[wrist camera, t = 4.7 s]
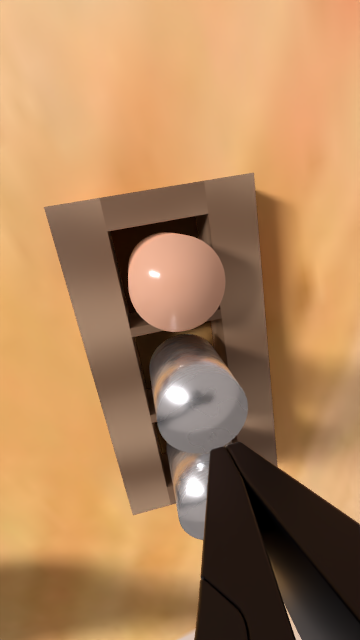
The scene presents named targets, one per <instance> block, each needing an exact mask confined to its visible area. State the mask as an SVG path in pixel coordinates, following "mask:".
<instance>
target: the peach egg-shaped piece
mask: <svg viewBox="0 0 360 640" xmlns="http://www.w3.org/2000/svg"><path fill="white" fill-rule="evenodd" d="M128 287H129V295H130V298H131V302H132V304H133V306H134V308H135V309H136V311H137V313H138V314H139V315H140V316H141V317H142V318H143V319H144V320H145V321H146V322H147V323H149V324H150V325H152V326H154V327H156V328H158V329H161V330H165V331H171V332H181V331H187V330H190V329H193V328H195V327H198V326H199V325H201V324H203V323H204V322H206V321H207V320H208V319H209V318H210V317H211V316H212V315H213V314H214V313H215V312H216V310H217V309H218V307H219V305H220V303H221V301H222V298H223V295H224V291H225V272H224V268H223V265H222V263H221V261H220V258H219V257H218V255H217V254H216V252H215V251H214V250H213V249H212V248H211V247H210V246H209V245H208V244H206V243H205V242H203V241H202V240H200V239H197V238H195V237H192V236H188V235H183V234H177V233H171V232H157V233H153V234H151V235H148V236H147V237H145V238H143V239H142V240H141V241H140V242H139V243H138V244H137V245H136V246H135V248H134V249H133V251H132V253H131V255H130V258H129V262H128Z"/></svg>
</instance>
